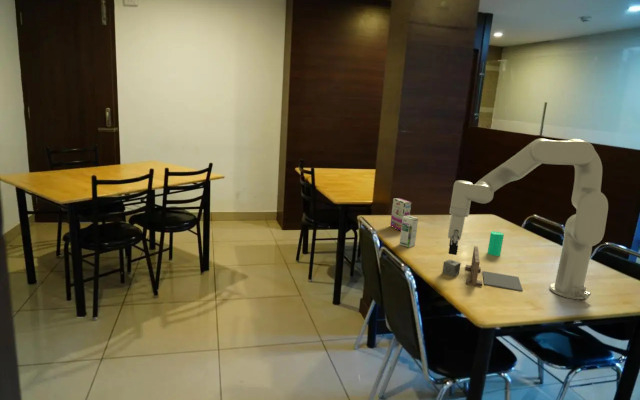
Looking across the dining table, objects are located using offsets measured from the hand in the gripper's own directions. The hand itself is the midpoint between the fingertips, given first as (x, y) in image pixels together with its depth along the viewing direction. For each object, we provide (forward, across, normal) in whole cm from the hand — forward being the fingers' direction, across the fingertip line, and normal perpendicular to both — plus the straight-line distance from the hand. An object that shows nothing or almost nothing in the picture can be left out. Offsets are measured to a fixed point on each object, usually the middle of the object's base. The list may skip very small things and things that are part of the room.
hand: (452, 250), depth 177 cm
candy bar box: (+11, -54, -28) cm, 62 cm away
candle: (+10, -35, +20) cm, 42 cm away
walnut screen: (+10, 0, +10) cm, 14 cm away
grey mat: (+9, 0, +21) cm, 23 cm away
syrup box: (+11, -27, -21) cm, 36 cm away
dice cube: (+10, +1, +1) cm, 10 cm away
